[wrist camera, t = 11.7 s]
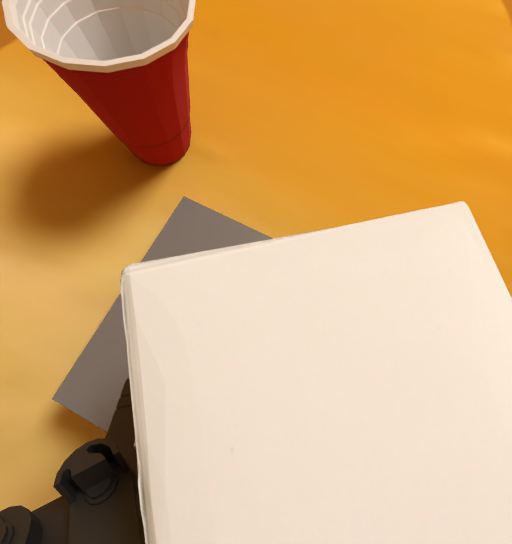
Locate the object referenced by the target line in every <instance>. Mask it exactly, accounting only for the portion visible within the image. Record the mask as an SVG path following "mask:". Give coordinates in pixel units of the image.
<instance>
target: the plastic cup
mask: <svg viewBox="0 0 512 544" xmlns="http://www.w3.org/2000/svg"><path fill="white" fill-rule="evenodd" d="M195 1H196V0H2V5H3V10H4V15H5V20H6V25H7V27H8V28H9V29H10V30H11V31H12V32H13V33H14V35H15V36H16V37H17V38H18V39H19V40H20V41H21V42H22V43H23V44H24V45H25V46H26V47H27V48H28V49H29V50H30V51H31V52H32V53H33V54H34V55H35V56H36V57H39V58H41V59H43V60H44V61H46V62H47V64H48V65H49V66H50V67H51V68H52V69H53V70H54V71H55V72H56V73H57V74H58V75H59V76H60V77H61V78H62V79H63V80H64V81H65V82H66V83H67V84H68V85H69V86H70V87H71V88H72V89H73V90H74V91H75V92H76V93H77V94H78V95H79V96H80V97H81V98H82V99H83V101H84V102H85V103H86V104H87V105H88V106H89V107H90V108H91V109H92V111H93V112H94V113H95V114H96V115H97V116H98V117H99V118H100V119H101V120H102V122H103V123H104V124H105V125H106V126H107V127H108V128H109V129H110V130H111V131H112V132H113V133H114V134H115V136H116V137H117V138H118V139H119V140H120V141H121V142H123V143H124V144H125V145H126V146H127V147H128V148H129V149H130V151H131V152H132V153H133V154H134V155H135V156H136V157H137V158H139V159H141V160H142V161H143V162H145V163H148V164H150V165H158V166H164V165H168V164H171V163H174V162H176V161H177V160H179V159H180V158H181V157H183V156H184V155H185V153H186V151H187V150H188V148H189V146H190V137H191V125H190V96H189V77H188V59H187V50H188V34H189V30H190V29H191V28H192V23H193V16H194V8H195Z"/></svg>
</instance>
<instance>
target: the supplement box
mask: <svg viewBox="0 0 512 544" xmlns="http://www.w3.org/2000/svg"><path fill="white" fill-rule="evenodd" d="M120 290H121V297H122V309H123V321H124V329H125V338H126V346H127V357H128V368H129V379H130V389H131V400H132V410H133V419H134V429H135V440H136V451H137V468H138V488H139V499H140V510H141V516H142V521H143V526H144V534H145V543H146V544H512V298H511V296H510V294H509V292H508V290H507V288H506V285H505V283H504V281H503V279H502V277H501V275H500V273H499V271H498V269H497V266H496V264H495V262H494V260H493V258H492V256H491V254H490V251H489V249H488V247H487V245H486V243H485V241H484V239H483V237H482V235H481V233H480V231H479V228H478V226H477V224H476V222H475V220H474V218H473V215H472V213H471V211H470V209H469V207H468V205H467V204H466V203H465V202H463V201H460V202H456V203H452V204H447V205H442V206H437V207H433V208H428V209H423V210H418V211H413V212H408V213H404V214H399V215H394V216H389V217H384V218H380V219H375V220H370V221H365V222H360V223H355V224H350V225H346V226H341V227H336V228H331V229H325V230H319V231H314V232H308V233H302V234H297V235H291V236H286V237H280V238H275V239H269V240H264V241H258V242H253V243H247V244H241V245H236V246H230V247H224V248H219V249H213V250H207V251H202V252H196V253H191V254H186V255H180V256H175V257H169V258H163V259H158V260H152V261H146V262H140V263H134V264H131V265H128V266H126V267H125V268H124V269H123V271H122V275H121V279H120Z"/></svg>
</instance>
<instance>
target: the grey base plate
mask: <svg viewBox="0 0 512 544" xmlns="http://www.w3.org/2000/svg"><path fill="white" fill-rule="evenodd" d="M269 239H273V238H271V237H269V236H267V235H265V234H262V233H260V232H258V231H256V230H254V229H252V228H250V227H248V226H245V225H243V224H241V223H239V222H237V221H235V220H233V219H231V218H229V217H226V216H224V215H222V214H220V213H218V212H216V211H214V210H212V209H210V208H207V207H205V206H203V205H201V204H199V203H197V202H195V201H193V200H190V199H188V198H186V197H183V198H182V200H181V201H180V203H179V204H178V206H177V208H176V209H175V211H174V212H173V214H172V215H171V217H170V218H169V220H168V221H167V223H166V224H165V226H164V228H163V229H162V231H161V232H160V234H159V235H158V237H157V238H156V240H155V241H154V243H153V244H152V246H151V248H150V249H149V251H148V252H147V254H146V255H145V257H144V258H143V260H142V261H141V262H146V261H152V260H158V259H163V258H169V257H175V256H180V255H186V254H191V253H196V252H202V251H207V250H213V249H219V248H224V247H230V246H236V245H241V244H247V243H253V242H258V241H264V240H269ZM128 377H129V368H128V357H127V346H126V338H125V329H124V321H123V309H122V297H121V294H120V295H119V297H118V298H117V300H116V301H115V303H114V304H113V306H112V307H111V309H110V311H109V312H108V314H107V315H106V317H105V318H104V320H103V321H102V323H101V324H100V326H99V327H98V329H97V331H96V332H95V334H94V335H93V337H92V338H91V340H90V341H89V343H88V344H87V346H86V347H85V349H84V350H83V352H82V354H81V355H80V357H79V358H78V360H77V361H76V363H75V364H74V366H73V367H72V369H71V370H70V372H69V374H68V375H67V377H66V378H65V380H64V381H63V383H62V384H61V386H60V387H59V389H58V390H57V392H56V394H55V395H54V397H53V398H52V399H53V400H55V401H56V402H58V403H59V404H61V405H63V406H64V407H66V408H68V409H69V410H71V411H73V412H74V413H76V414H78V415H79V416H81V417H82V418H84V419H86V420H87V421H89V422H91V423H92V424H94V425H96V426H97V427H99V428H100V429H102V430H104V431H105V432H108V429H109V427H110V424H111V421H112V418H113V415H114V412H115V410H116V406H117V404H118V401H119V398H120V397H121V396H120V395H121V392H122V389H123V386H124V384H125V381H126V380H127V378H128Z"/></svg>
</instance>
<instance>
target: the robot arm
mask: <svg viewBox="0 0 512 544" xmlns="http://www.w3.org/2000/svg"><path fill="white" fill-rule="evenodd" d="M120 396H121V397H120V398H119V401H118V404H117V406H116V410H115V412H114V415H113V418H112V421H111V424H110V427H109V429H108V432H107V435H106V438H105V439H96V440H93V441H90V442H87V443H86V444H84V445H83V446H81V447H80V448H78V449H77V450H75V451H74V452H73V453H72V454H71V455H70V456H69V457H68V458H67V459H66V460H65V461H64V463H63V465H62V466H61V468H60V470H59V471H58V473H57V475H56V479H55V482H54V486H53V487H54V488H55V489H56V490H57V491H58V492H59V493H60V494H61V495H62V496H61V497H60V498H58V499H56V500H54V501H52V502H50V503H48V504H46V505H44V506H42V507H40V508H38V509H36V510H34V511H32V512H31V511H30V510H28V509H27V508H25V507H23V506H13V507H8V508H6V509H4V510H2V511H0V544H146V543H145V534H144V526H143V521H142V516H141V510H140V499H139V488H138V468H137V451H136V440H135V429H134V419H133V410H132V400H131V389H130V379H129V377H128V378H127V380H126V381H125V384H124V386H123V389H122V392H121V395H120Z"/></svg>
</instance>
